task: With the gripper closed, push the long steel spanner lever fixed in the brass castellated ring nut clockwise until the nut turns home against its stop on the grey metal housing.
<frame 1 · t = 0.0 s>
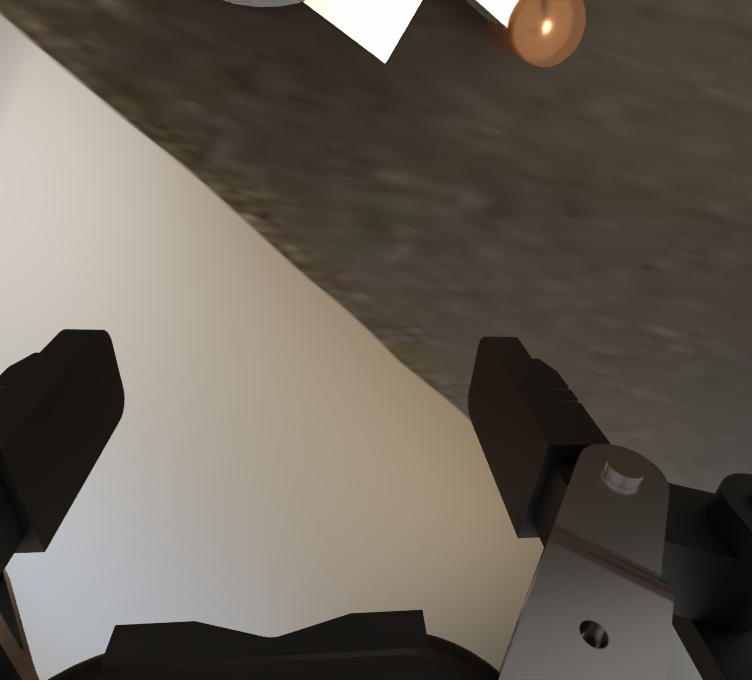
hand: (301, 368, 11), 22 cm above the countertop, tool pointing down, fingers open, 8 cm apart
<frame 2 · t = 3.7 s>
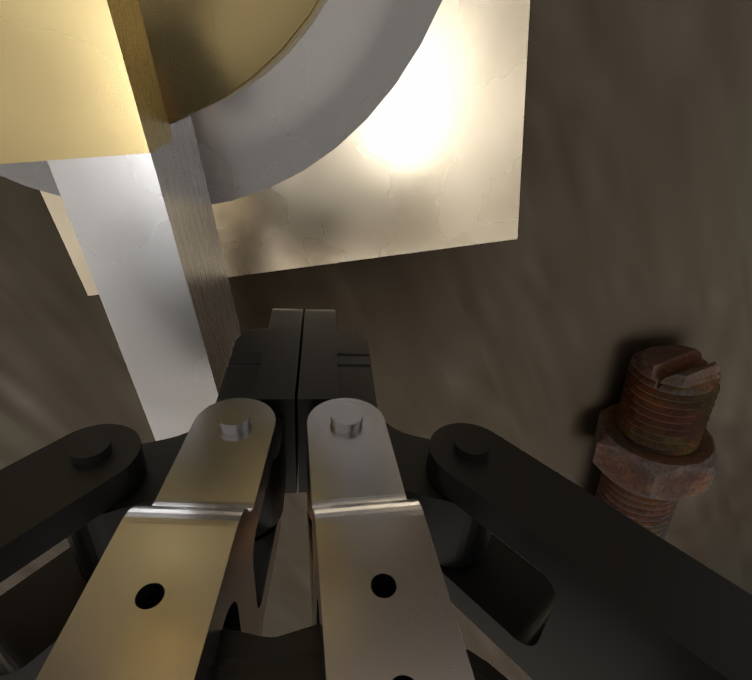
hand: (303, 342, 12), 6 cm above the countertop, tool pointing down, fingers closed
ring nut: (109, 122, 8), point 7 cm above the countertop, hinge at 2.8°, touching gripper
bolt: (609, 457, 24), on the countertop
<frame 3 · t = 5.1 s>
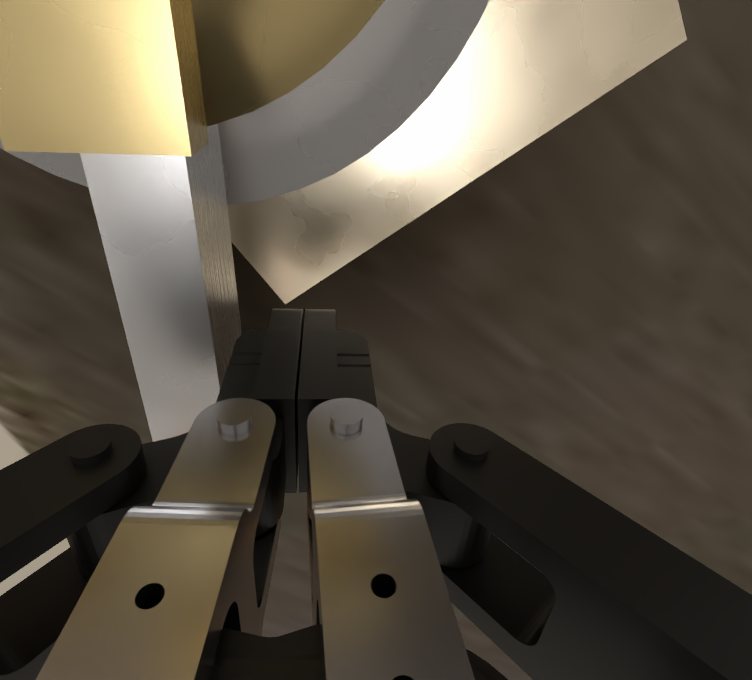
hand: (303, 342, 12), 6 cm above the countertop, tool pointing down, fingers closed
ring nut: (143, 118, 8), point 7 cm above the countertop, hinge at 35.4°, touching gripper
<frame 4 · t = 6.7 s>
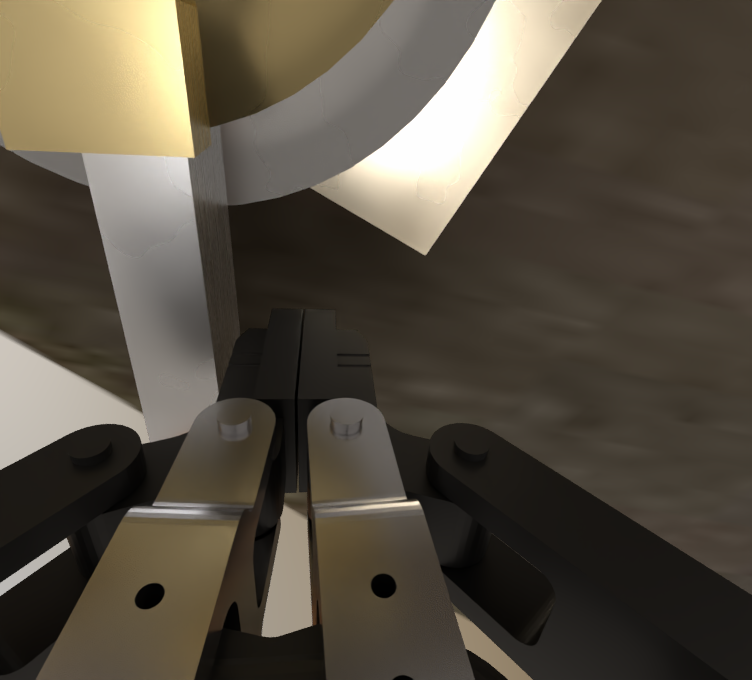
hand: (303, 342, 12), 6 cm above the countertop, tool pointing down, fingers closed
ring nut: (145, 117, 8), point 7 cm above the countertop, hinge at 61.2°, touching gripper
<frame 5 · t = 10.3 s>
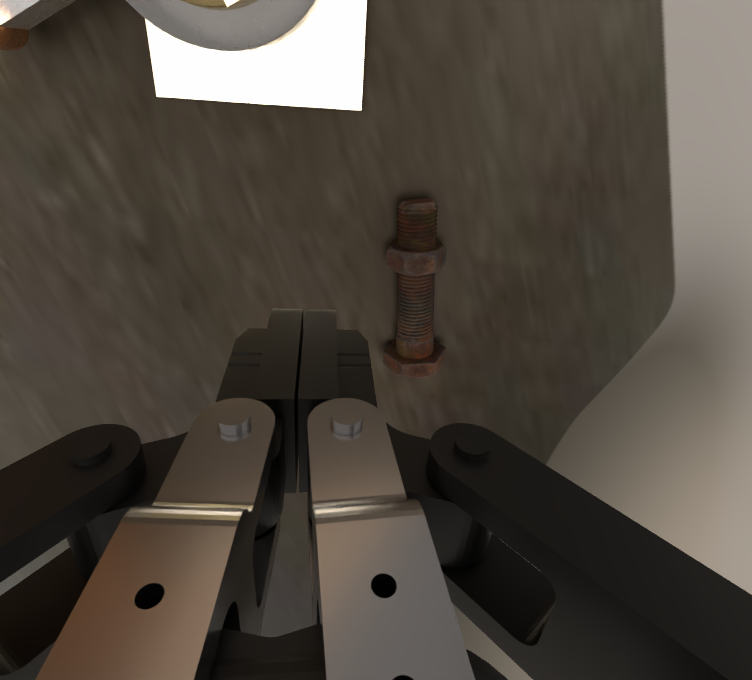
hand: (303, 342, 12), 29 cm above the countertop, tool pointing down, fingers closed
bolt: (412, 278, 43), on the countertop
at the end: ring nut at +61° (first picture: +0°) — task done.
